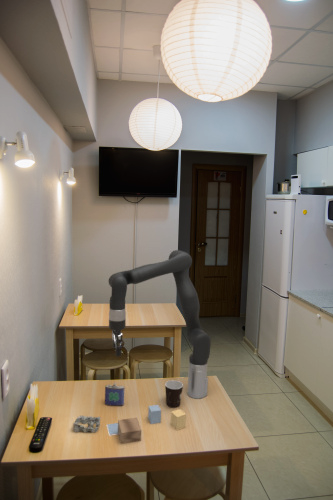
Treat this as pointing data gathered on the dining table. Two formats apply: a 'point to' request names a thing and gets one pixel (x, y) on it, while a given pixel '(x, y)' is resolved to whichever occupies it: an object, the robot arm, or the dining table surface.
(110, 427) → the tile
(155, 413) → the blue block
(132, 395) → the dining table surface
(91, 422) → the egg carton
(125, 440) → the base block
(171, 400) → the coffee mug
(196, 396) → the robot arm
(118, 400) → the flask
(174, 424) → the ochre block
